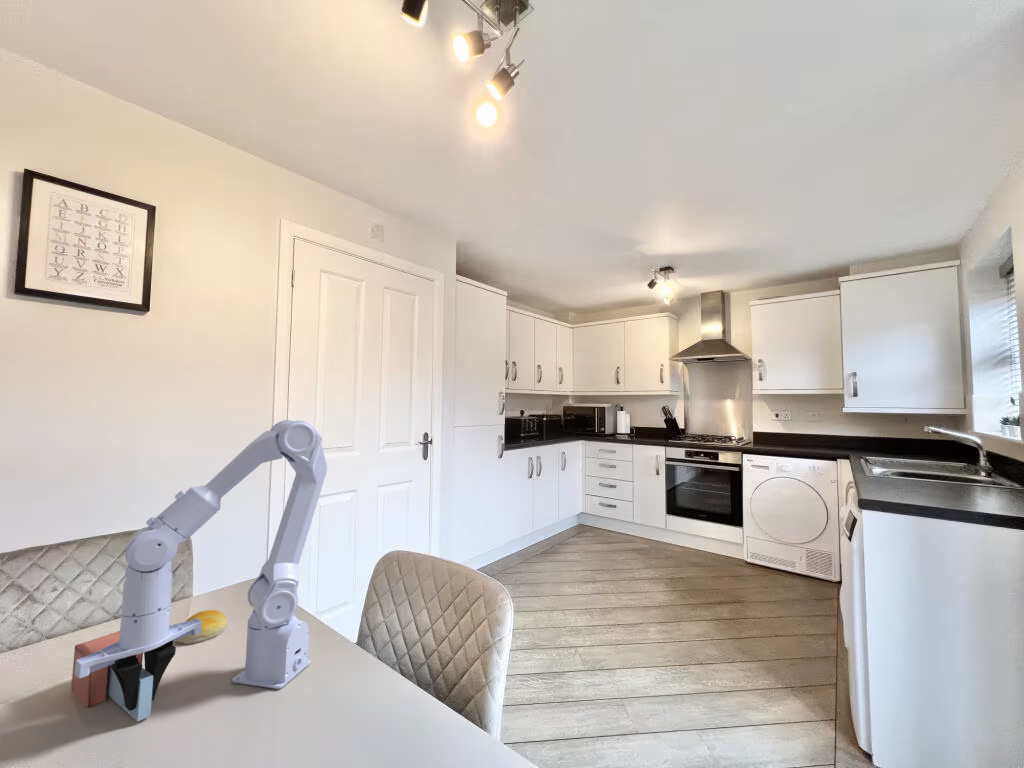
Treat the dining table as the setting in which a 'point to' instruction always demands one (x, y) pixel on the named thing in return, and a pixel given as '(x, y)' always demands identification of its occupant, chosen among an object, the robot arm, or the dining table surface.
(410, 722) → the dining table surface
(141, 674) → the blue-grey rectangular box
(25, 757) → the dining table surface
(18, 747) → the dining table surface
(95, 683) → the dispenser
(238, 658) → the dining table surface
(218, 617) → the bread roll
